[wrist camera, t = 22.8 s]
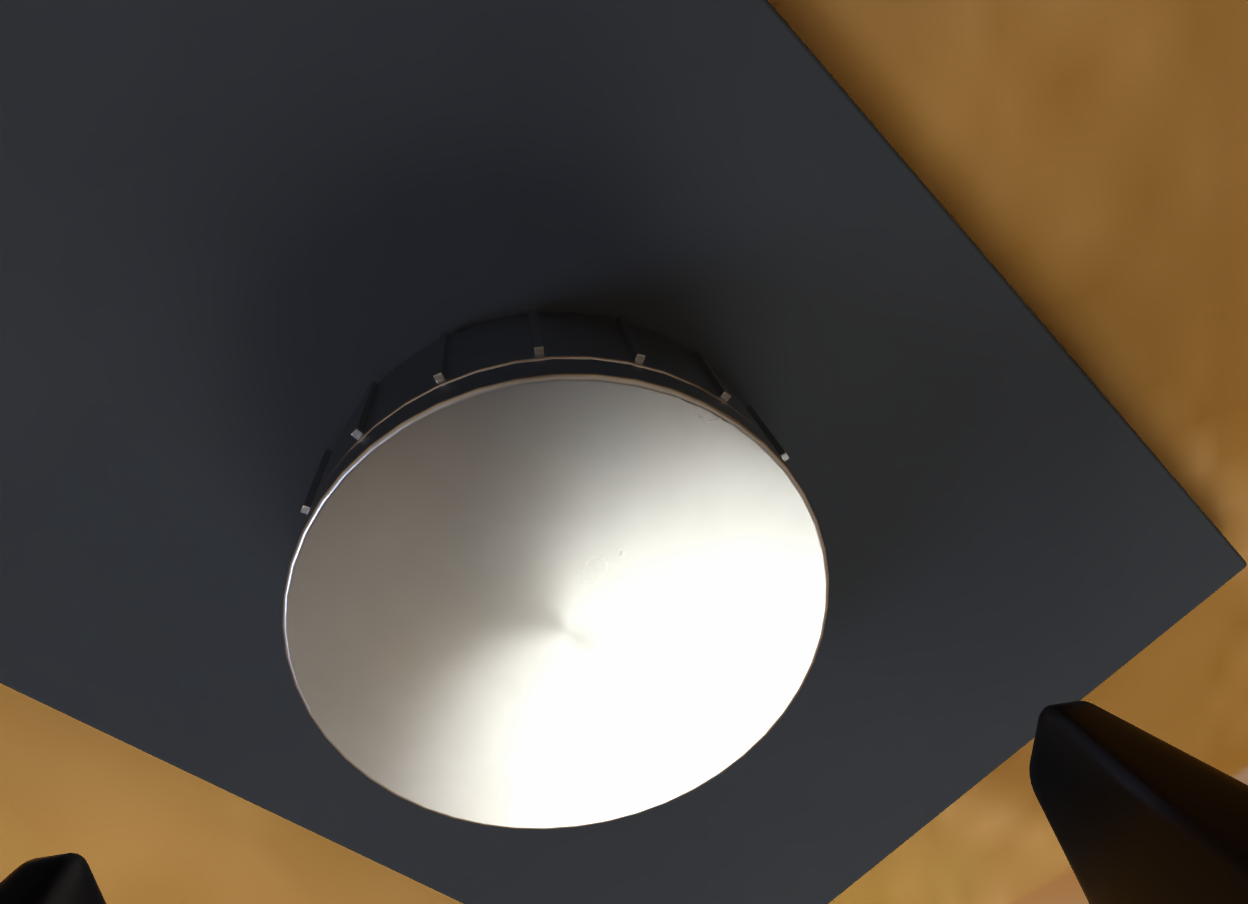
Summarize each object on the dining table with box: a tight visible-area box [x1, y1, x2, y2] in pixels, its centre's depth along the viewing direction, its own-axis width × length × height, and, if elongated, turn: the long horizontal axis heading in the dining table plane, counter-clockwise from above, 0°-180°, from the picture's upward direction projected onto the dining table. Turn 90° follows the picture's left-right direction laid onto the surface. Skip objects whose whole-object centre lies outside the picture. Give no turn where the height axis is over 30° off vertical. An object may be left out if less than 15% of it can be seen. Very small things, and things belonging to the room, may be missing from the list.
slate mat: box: [0, 0, 1247, 904], centre depth 13 cm, size 20×14×1 cm
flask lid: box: [282, 309, 829, 830], centre depth 12 cm, size 7×7×2 cm
